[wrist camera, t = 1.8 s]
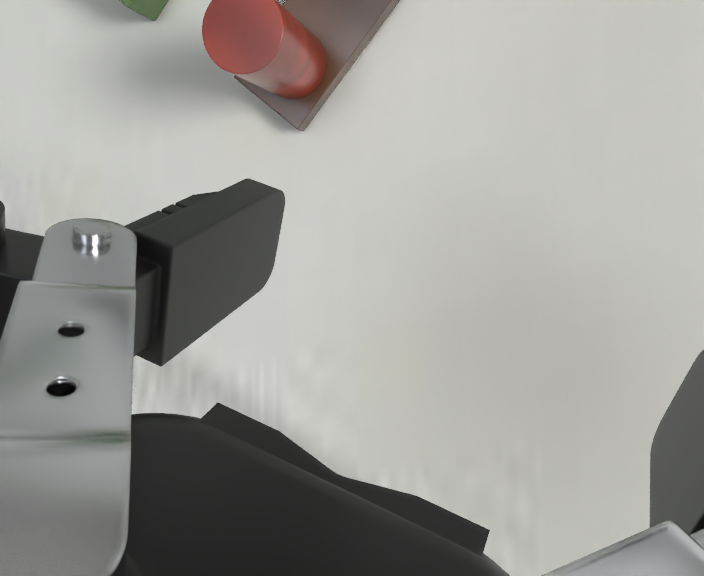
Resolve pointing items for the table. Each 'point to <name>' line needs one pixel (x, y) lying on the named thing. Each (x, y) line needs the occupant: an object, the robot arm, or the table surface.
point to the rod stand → (291, 47)
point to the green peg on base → (146, 7)
